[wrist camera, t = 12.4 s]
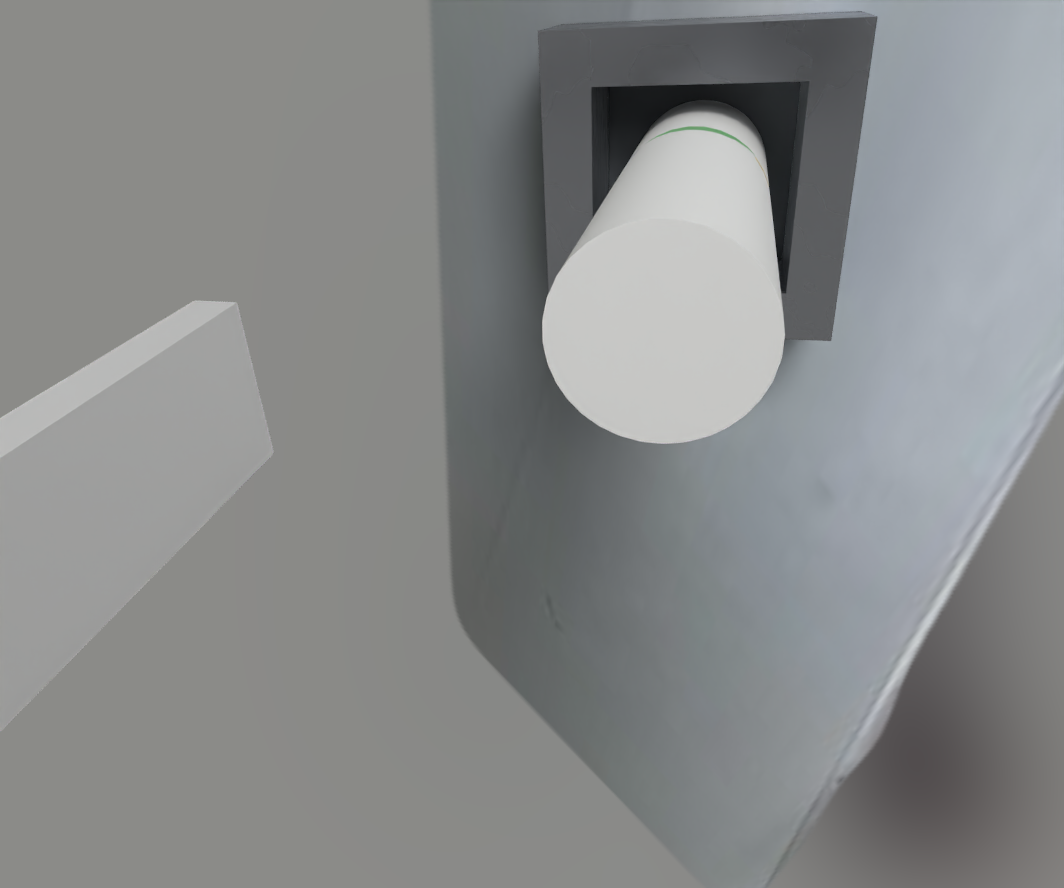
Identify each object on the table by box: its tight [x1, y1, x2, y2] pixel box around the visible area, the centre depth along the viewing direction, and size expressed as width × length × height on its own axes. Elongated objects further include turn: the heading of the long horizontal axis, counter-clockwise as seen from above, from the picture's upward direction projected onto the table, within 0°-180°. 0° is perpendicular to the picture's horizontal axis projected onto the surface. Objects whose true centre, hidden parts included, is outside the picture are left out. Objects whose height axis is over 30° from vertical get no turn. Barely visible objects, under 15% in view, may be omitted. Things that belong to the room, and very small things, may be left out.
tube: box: [542, 100, 785, 444], centre depth 21 cm, size 4×4×15 cm
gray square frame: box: [538, 11, 877, 341], centre depth 26 cm, size 9×9×4 cm
